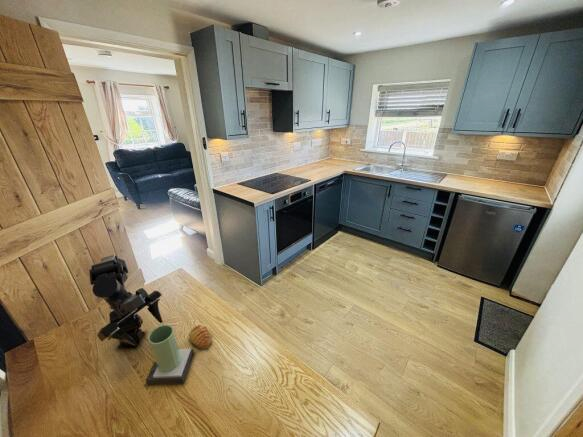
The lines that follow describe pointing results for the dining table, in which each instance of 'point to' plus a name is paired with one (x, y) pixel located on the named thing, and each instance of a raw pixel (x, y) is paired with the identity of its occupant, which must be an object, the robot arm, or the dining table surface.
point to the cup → (164, 348)
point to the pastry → (200, 336)
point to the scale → (172, 376)
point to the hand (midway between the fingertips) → (149, 333)
